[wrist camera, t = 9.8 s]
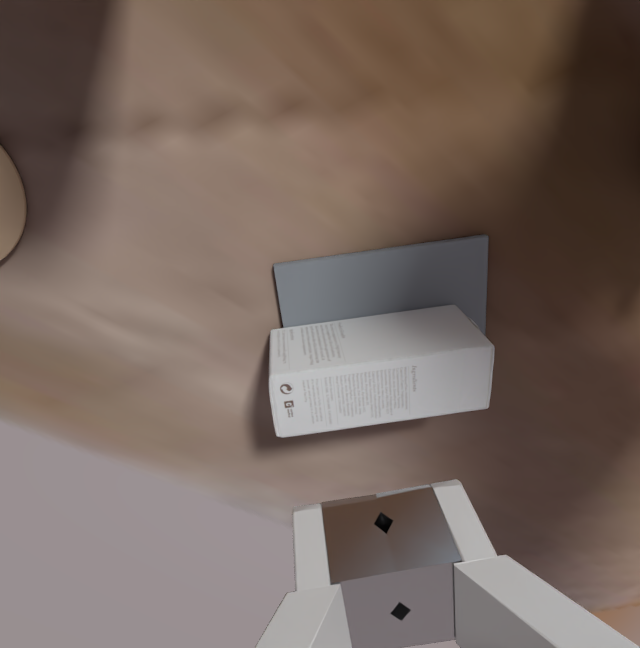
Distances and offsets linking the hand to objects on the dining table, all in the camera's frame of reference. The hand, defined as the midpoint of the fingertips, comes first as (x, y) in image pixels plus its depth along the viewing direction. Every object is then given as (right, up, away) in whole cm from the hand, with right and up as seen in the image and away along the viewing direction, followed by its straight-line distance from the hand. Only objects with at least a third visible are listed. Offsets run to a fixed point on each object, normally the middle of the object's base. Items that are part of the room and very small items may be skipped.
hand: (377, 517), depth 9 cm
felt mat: (+3, +3, +23) cm, 23 cm away
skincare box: (-4, 0, +19) cm, 20 cm away
